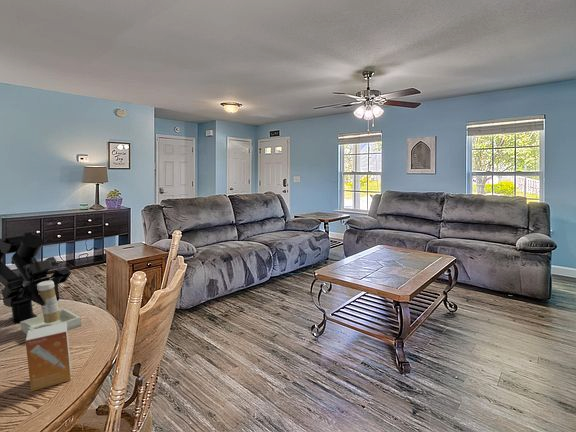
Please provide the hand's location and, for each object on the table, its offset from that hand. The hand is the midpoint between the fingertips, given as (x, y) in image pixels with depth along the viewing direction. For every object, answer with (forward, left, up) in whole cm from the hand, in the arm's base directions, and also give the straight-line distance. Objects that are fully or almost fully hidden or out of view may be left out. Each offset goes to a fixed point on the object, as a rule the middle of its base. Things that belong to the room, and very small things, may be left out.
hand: (51, 302), depth 109 cm
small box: (+32, -11, -9) cm, 35 cm away
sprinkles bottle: (-1, 0, -7) cm, 7 cm away
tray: (-1, 0, -9) cm, 9 cm away
